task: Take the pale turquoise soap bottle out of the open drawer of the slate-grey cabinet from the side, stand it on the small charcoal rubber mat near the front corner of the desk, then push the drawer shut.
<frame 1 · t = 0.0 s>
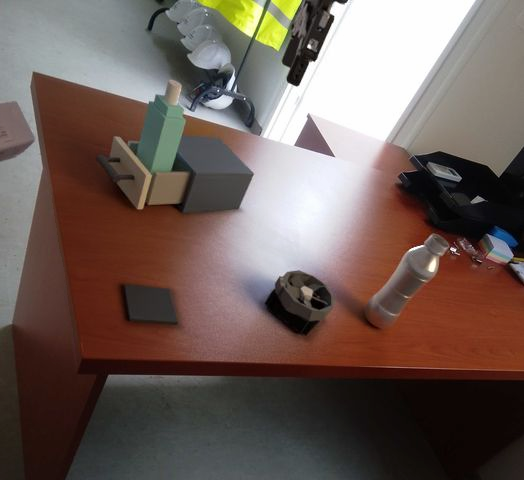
hand: (289, 74, 73), 29 cm above the table, tool pointing down, fingers open, 8 cm apart
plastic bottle: (373, 320, 91), on the table
mat: (150, 305, 68), on the table
cabinet: (195, 192, 94), on the table
drawer: (148, 173, 83), point 4 cm above the table, slide at 8.5 cm, touching soap bottle
cpu cooler: (293, 312, 82), on the table
soap bottle: (147, 184, 85), point 2 cm above the table, touching drawer
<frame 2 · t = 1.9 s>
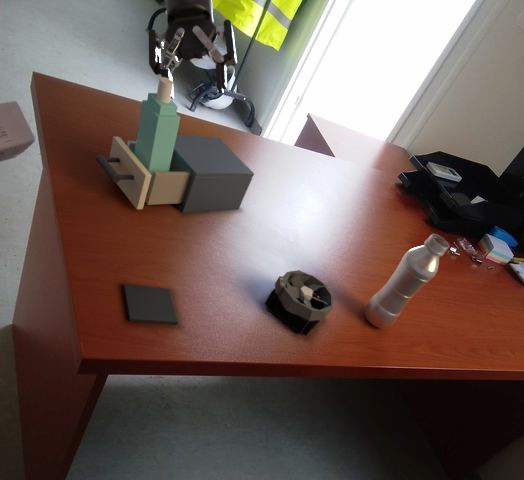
hand: (195, 93, 75), 20 cm above the table, tool tilted 50°, fingers open, 8 cm apart
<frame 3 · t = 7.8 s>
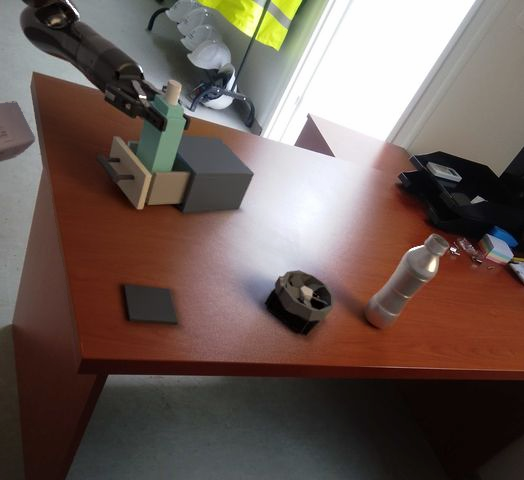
hand: (176, 125, 76), 15 cm above the table, tool horizontal, fingers closed on soap bottle, 4 cm apart
soap bottle: (147, 184, 85), point 2 cm above the table, touching drawer, gripper
everything else where it was.
when the fingers open (14 cm above the table, at t = 18.2 s): soap bottle stays where it is, resting on mat.
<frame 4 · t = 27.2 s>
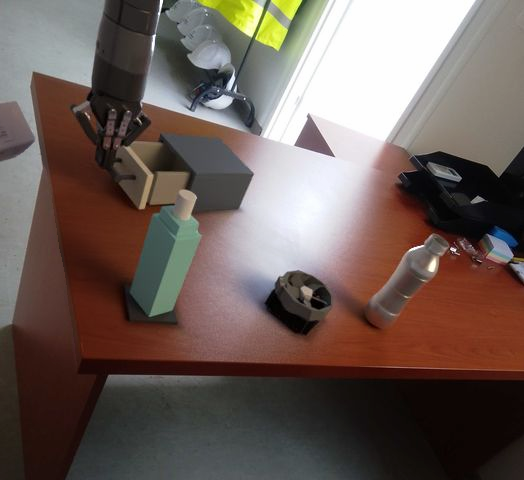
hand: (103, 166, 76), 6 cm above the table, tool pointing down, fingers closed
drawer: (150, 173, 83), point 4 cm above the table, slide at 8.2 cm, touching gripper
soap bottle: (151, 301, 67), point 1 cm above the table, touching mat
everything else where it was.
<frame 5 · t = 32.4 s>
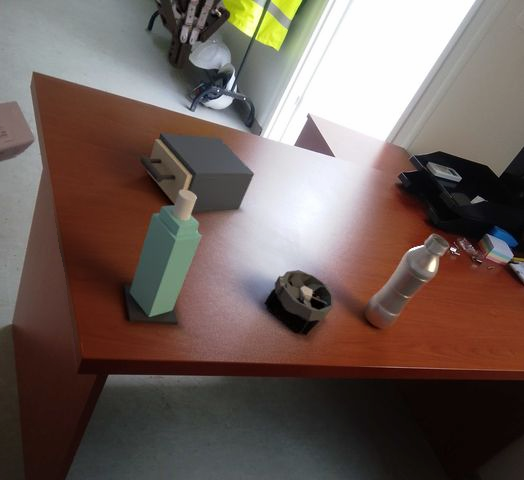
hand: (175, 66, 71), 23 cm above the table, tool pointing down, fingers closed
drawer: (186, 173, 89), point 4 cm above the table, slide at 0.0 cm
everything else where it was.
at the end: soap bottle 0.2 cm off-centre on the mat, point 0.6 cm above the mat's base; soap bottle tilted 0°; drawer slide at 0.0 cm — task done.
